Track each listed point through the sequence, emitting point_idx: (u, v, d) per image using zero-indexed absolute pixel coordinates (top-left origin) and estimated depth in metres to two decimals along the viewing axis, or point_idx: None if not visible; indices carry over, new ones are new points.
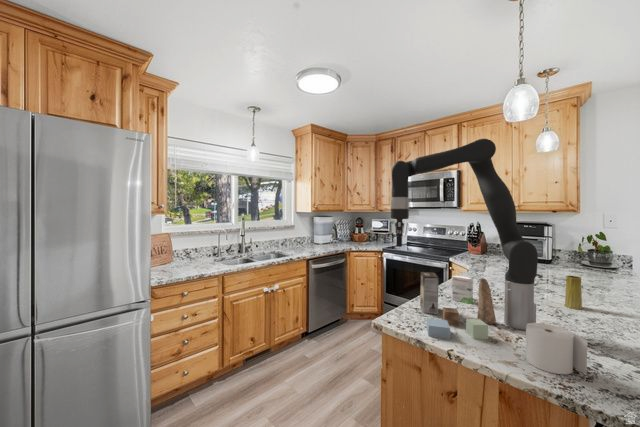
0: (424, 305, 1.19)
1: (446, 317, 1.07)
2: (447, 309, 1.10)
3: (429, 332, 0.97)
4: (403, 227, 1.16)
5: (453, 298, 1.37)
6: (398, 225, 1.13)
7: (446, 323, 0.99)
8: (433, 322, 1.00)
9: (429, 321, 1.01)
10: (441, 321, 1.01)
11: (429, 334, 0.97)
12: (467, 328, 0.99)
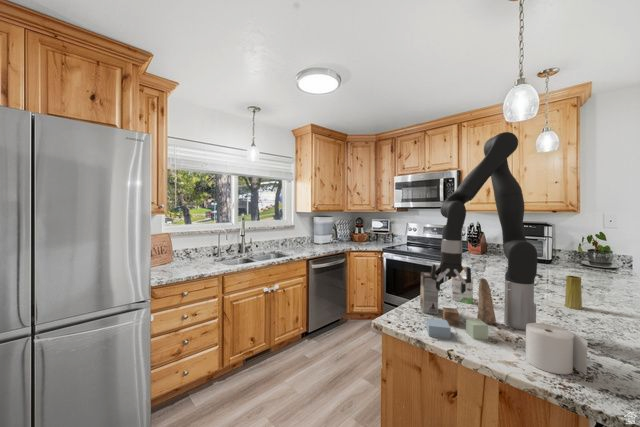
0: (424, 305, 1.19)
1: (446, 317, 1.07)
2: (447, 309, 1.10)
3: (429, 332, 0.97)
4: None
5: (453, 298, 1.37)
6: None
7: (446, 323, 0.99)
8: (433, 322, 1.00)
9: (429, 321, 1.01)
10: (441, 321, 1.01)
11: (429, 334, 0.97)
12: (467, 328, 0.99)
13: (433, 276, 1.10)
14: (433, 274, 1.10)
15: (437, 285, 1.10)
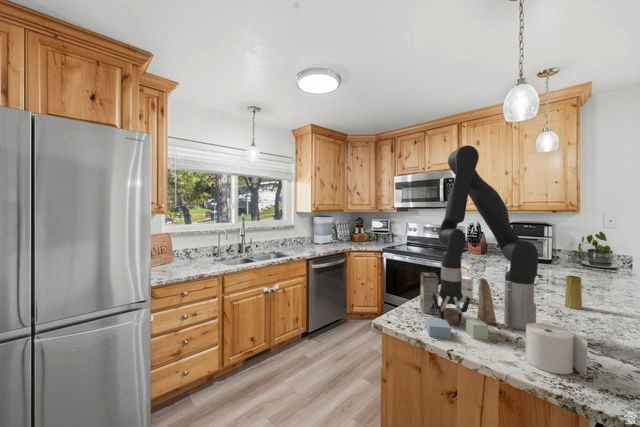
0: (424, 305, 1.19)
1: (446, 317, 1.07)
2: (447, 309, 1.10)
3: (430, 333, 0.97)
4: None
5: None
6: None
7: (446, 323, 0.99)
8: (433, 322, 1.00)
9: (429, 321, 1.00)
10: (441, 321, 1.01)
11: (430, 334, 0.97)
12: (467, 328, 0.99)
13: (436, 306, 1.10)
14: (436, 304, 1.10)
15: (441, 315, 1.10)
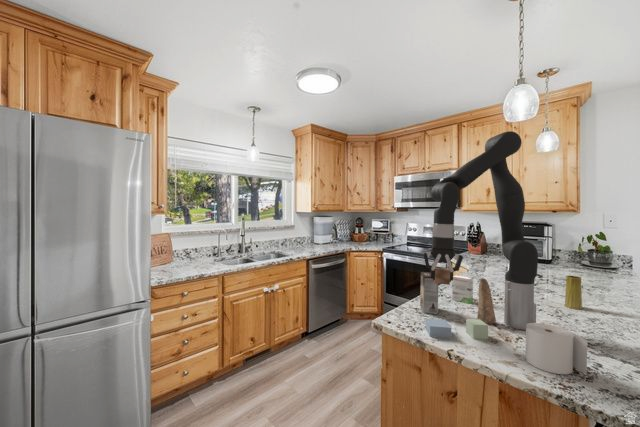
0: (424, 305, 1.19)
1: (437, 276, 1.02)
2: (438, 268, 1.04)
3: (431, 333, 0.97)
4: None
5: (453, 298, 1.37)
6: None
7: (446, 323, 0.99)
8: (433, 322, 1.00)
9: (429, 321, 1.00)
10: (441, 321, 1.01)
11: (431, 335, 0.97)
12: (467, 328, 0.99)
13: (427, 265, 1.04)
14: (426, 262, 1.04)
15: (432, 274, 1.04)
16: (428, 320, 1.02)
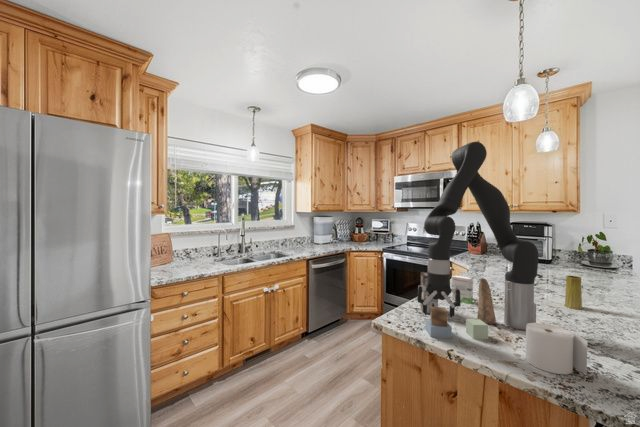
0: None
1: (433, 317, 0.98)
2: (435, 308, 1.00)
3: (431, 333, 0.96)
4: None
5: (453, 298, 1.37)
6: None
7: None
8: None
9: (429, 322, 1.00)
10: None
11: (431, 335, 0.96)
12: (467, 328, 0.99)
13: (419, 299, 1.00)
14: (419, 297, 1.00)
15: (424, 309, 1.00)
16: (428, 320, 1.01)
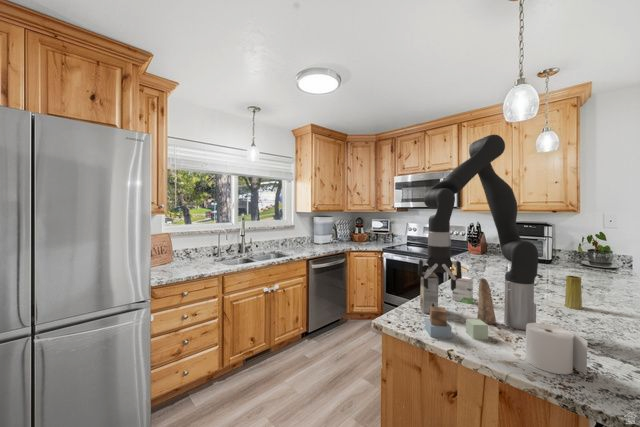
0: (424, 305, 1.19)
1: (433, 317, 0.98)
2: (434, 308, 1.00)
3: (431, 333, 0.96)
4: None
5: (453, 298, 1.37)
6: None
7: None
8: None
9: (429, 322, 1.00)
10: None
11: (431, 335, 0.96)
12: (467, 328, 0.99)
13: (420, 273, 1.00)
14: (420, 270, 1.00)
15: (425, 282, 1.00)
16: (428, 320, 1.02)
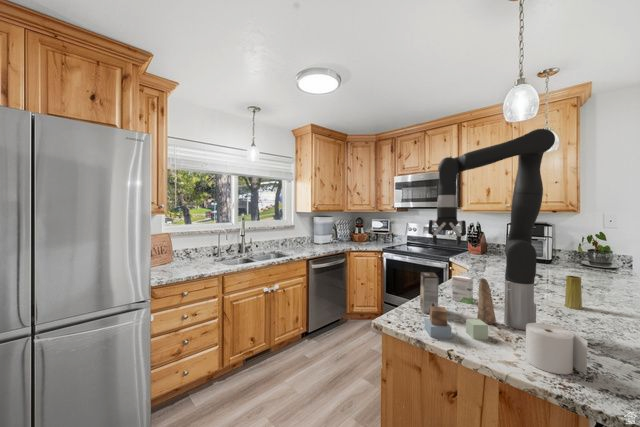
0: (424, 305, 1.19)
1: (433, 317, 0.98)
2: (435, 308, 1.00)
3: (431, 333, 0.96)
4: None
5: (453, 298, 1.37)
6: None
7: None
8: None
9: (429, 322, 1.00)
10: None
11: (431, 335, 0.96)
12: (467, 328, 0.99)
13: (430, 231, 1.16)
14: (430, 229, 1.16)
15: (434, 239, 1.16)
16: (428, 320, 1.01)
